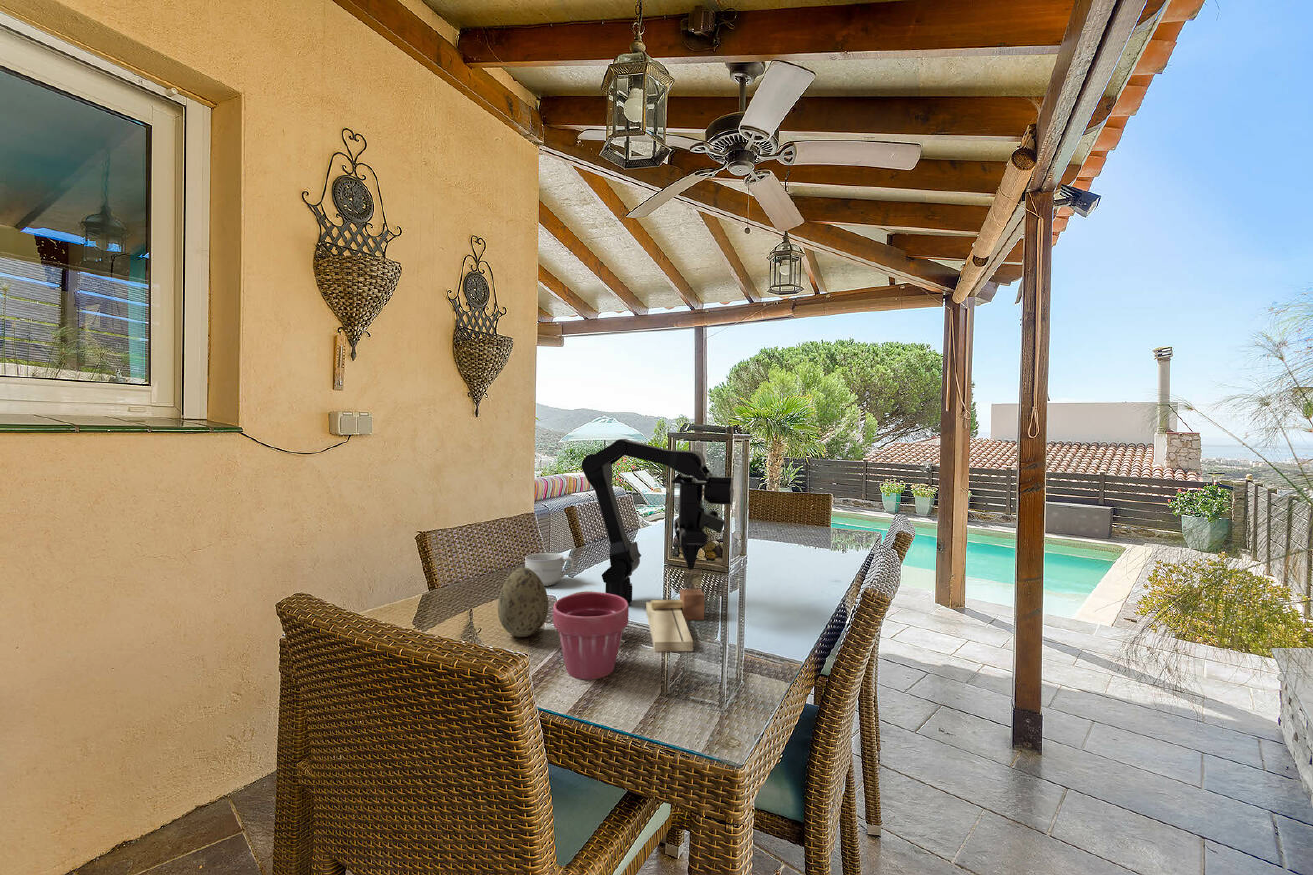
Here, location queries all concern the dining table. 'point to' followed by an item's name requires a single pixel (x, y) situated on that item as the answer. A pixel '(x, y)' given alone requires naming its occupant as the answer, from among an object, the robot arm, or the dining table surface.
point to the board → (668, 629)
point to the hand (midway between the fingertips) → (688, 564)
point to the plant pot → (590, 632)
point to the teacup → (548, 566)
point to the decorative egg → (523, 603)
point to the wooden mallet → (685, 604)
